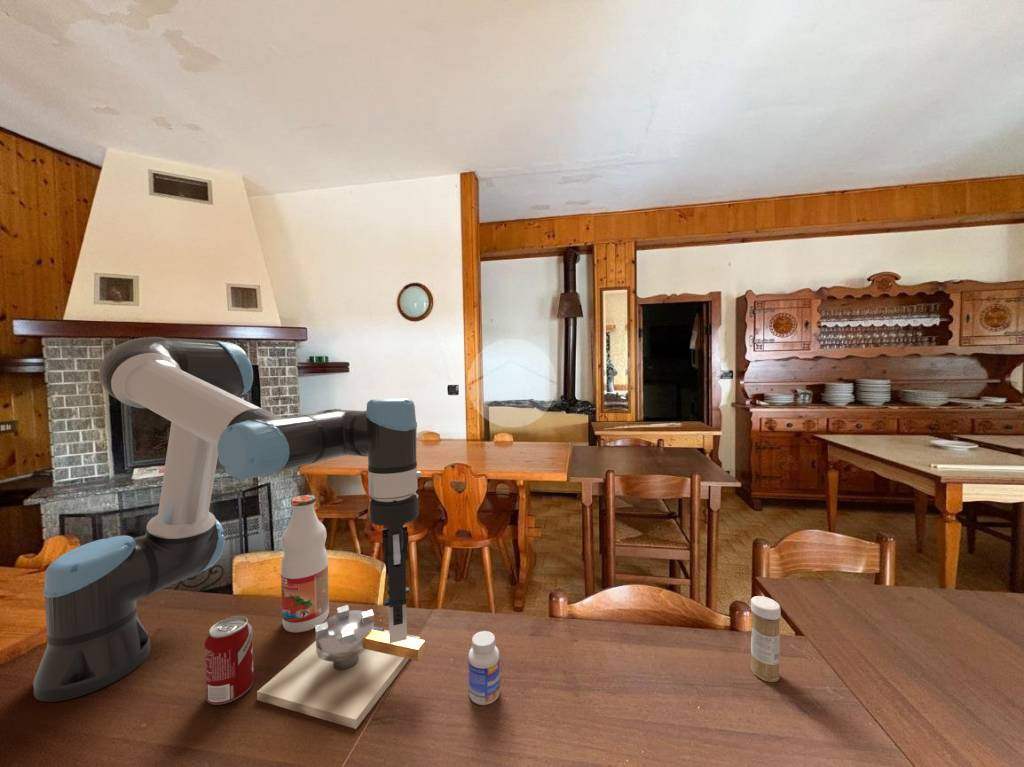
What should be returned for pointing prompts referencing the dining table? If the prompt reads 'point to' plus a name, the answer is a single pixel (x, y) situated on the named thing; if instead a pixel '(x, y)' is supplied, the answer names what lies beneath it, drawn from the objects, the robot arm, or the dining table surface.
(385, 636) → the frying pan on burner
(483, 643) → the pill bottle
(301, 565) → the fruit juice
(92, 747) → the dining table surface
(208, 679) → the soda can
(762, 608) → the sprinkles bottle
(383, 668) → the board
